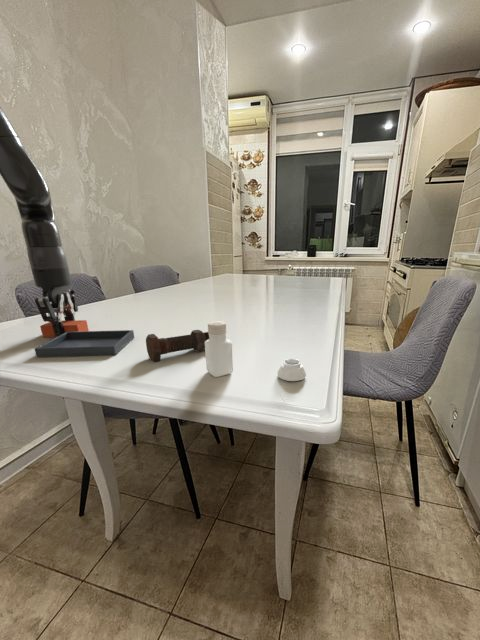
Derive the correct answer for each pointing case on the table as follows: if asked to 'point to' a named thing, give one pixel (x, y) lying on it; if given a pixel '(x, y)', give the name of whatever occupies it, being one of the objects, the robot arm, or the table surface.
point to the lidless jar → (291, 370)
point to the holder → (85, 343)
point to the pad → (65, 327)
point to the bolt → (175, 344)
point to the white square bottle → (218, 350)
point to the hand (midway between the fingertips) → (66, 332)
